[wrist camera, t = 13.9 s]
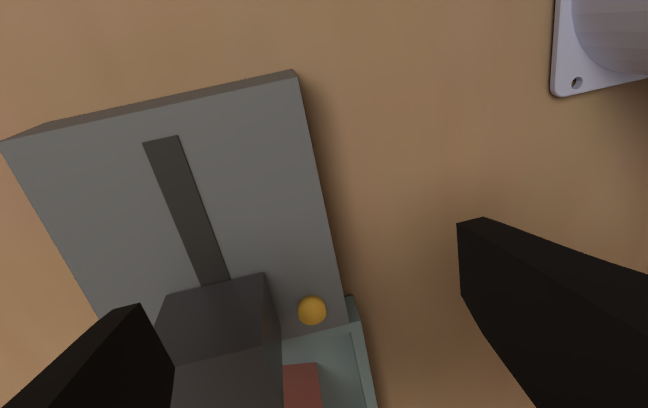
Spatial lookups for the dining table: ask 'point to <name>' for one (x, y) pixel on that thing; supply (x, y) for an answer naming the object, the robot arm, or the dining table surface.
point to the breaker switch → (224, 345)
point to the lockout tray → (337, 362)
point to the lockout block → (301, 386)
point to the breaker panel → (188, 199)
